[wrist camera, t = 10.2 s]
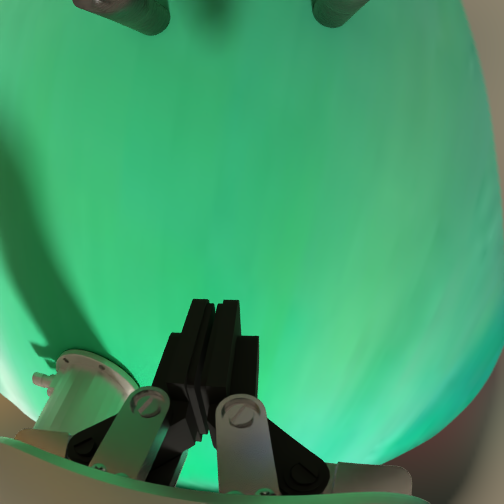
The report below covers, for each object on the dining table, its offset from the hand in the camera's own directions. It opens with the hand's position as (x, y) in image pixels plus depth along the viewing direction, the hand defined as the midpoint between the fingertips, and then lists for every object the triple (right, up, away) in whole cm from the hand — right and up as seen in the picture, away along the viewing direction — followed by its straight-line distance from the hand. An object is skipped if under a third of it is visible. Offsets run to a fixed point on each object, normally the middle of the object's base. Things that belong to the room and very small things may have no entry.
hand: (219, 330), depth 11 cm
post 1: (-6, +20, +5) cm, 21 cm away
